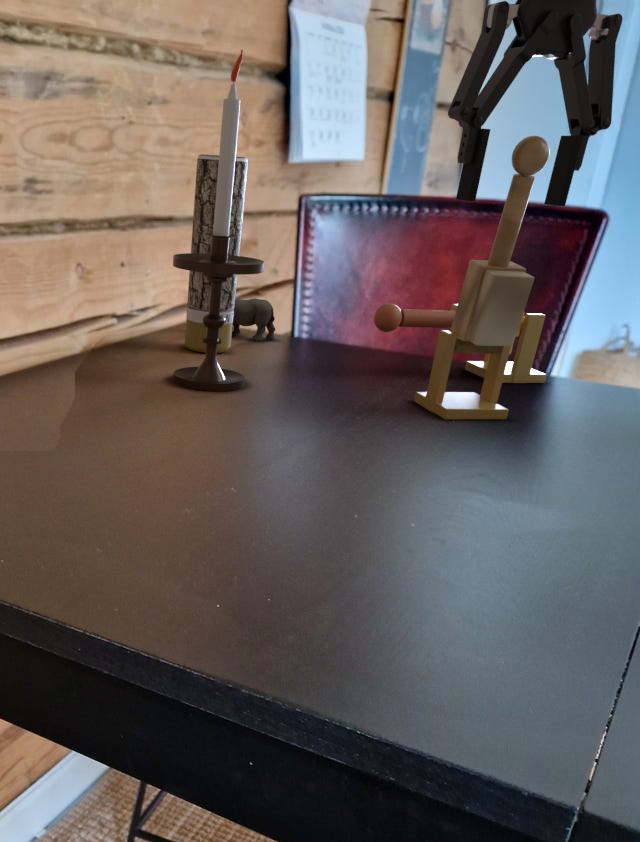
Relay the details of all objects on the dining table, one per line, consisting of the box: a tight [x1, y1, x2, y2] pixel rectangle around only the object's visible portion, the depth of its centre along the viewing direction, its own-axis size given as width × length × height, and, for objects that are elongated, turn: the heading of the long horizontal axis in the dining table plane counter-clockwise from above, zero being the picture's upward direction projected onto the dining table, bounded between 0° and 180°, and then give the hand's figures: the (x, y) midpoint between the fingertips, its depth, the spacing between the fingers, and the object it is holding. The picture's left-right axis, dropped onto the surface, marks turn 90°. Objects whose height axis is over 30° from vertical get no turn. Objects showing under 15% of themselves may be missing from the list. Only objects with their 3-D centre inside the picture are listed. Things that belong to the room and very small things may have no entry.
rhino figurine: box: [231, 296, 276, 342], centre depth 136 cm, size 4×14×6 cm, turn 68°
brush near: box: [451, 135, 550, 354], centre depth 93 cm, size 22×5×6 cm
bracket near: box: [413, 329, 511, 420], centre depth 101 cm, size 8×8×9 cm
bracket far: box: [464, 312, 548, 384], centre depth 120 cm, size 8×8×9 cm
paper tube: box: [184, 153, 249, 354], centre depth 120 cm, size 7×7×25 cm
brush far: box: [373, 302, 526, 355], centre depth 117 cm, size 22×5×6 cm, turn 102°
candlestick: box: [172, 49, 265, 392], centre depth 100 cm, size 11×11×35 cm
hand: (510, 202), depth 92 cm, fingers open, 10 cm apart
